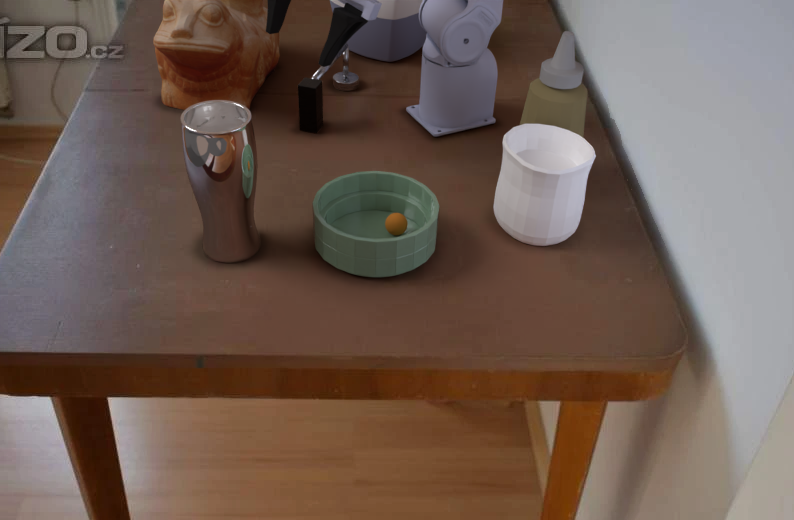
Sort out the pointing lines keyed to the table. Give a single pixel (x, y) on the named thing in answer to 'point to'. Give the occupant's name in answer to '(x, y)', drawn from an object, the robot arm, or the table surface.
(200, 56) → the frog figurine
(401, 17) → the grey and white container
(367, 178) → the soup bowl
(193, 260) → the table surface
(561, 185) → the cup
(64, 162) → the table surface
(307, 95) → the ladle
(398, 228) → the orange ball
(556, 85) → the squeeze bottle
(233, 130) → the beer glass
